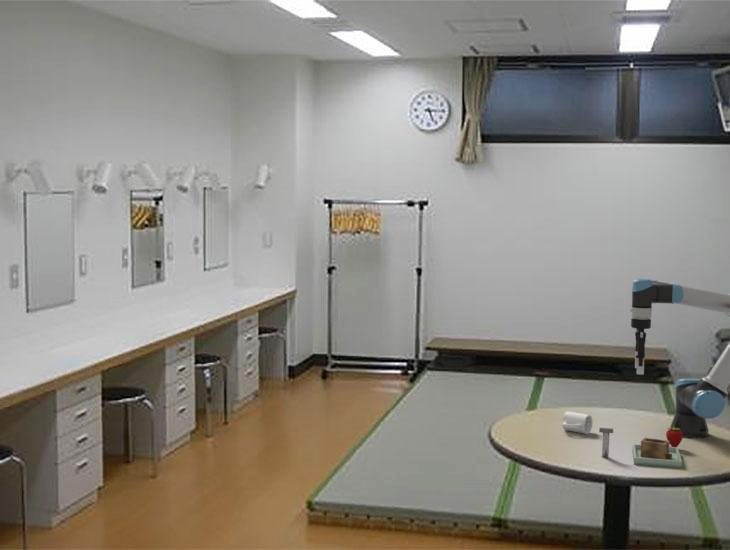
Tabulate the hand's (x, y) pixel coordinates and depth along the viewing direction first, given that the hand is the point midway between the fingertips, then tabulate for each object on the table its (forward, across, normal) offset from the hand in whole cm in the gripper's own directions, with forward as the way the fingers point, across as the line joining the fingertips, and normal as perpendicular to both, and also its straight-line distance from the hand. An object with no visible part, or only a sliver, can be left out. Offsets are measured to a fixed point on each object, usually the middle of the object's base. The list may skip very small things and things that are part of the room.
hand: (639, 371), depth 374 cm
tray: (+29, +24, +6) cm, 38 cm away
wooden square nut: (+28, +24, +5) cm, 37 cm away
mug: (+29, -8, -24) cm, 38 cm away
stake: (+28, +27, -13) cm, 41 cm away
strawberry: (+29, +7, +14) cm, 33 cm away
